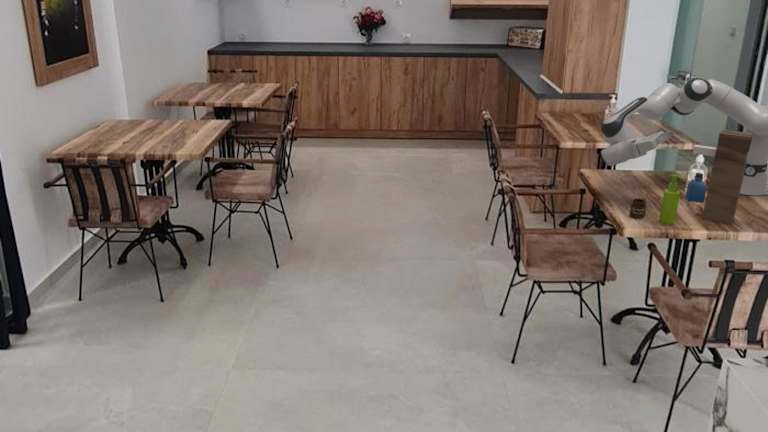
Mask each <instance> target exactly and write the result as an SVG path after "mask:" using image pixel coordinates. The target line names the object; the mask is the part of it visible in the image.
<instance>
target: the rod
mask: <svg viewBox="0 0 768 432" xmlns="http://www.w3.org/2000/svg"><path fill="white" fill-rule="evenodd" d="M716 149H717V147H713V146H706V145H699V144H695V145H694V146H693V150H692V151H693V152H692V154H694V155H701V156H705V157H706V156H707V157H713V158H715V154H716ZM747 157H748V154H747ZM746 160H747V158H746Z"/></svg>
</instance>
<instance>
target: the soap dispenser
mask: <svg viewBox="0 0 768 432" xmlns="http://www.w3.org/2000/svg"><path fill="white" fill-rule="evenodd" d="M670 177H672V179H671V181H668V182H669V183H668V188H667V189H664V190H663V196H662V202H661V208H660V211H659V212H660V213H659V219H658V222H660V223H661V222H662V224H664V223H665V225H673V224H675V222H676V221H675V220H676V218H677V211H678V206H679V201H680V195H681V192H680V191H679V190H678V188H679V183H678V182H677V180H678V179H682V180H685V179H686V178H687V177H686V176H684V175H681V174H674V173H672V174H671V175H670Z"/></svg>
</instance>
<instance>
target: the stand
mask: <svg viewBox="0 0 768 432" xmlns="http://www.w3.org/2000/svg"><path fill="white" fill-rule="evenodd" d="M718 135H719V136H718V140H717V144H716V148H717V149H716V154H715V157H713V163H712V169H711V174H710V177H709V183H708V189H707V191H706V193H707V194H706V196H705V197H706V198H705V202H704V207H703V212H702V217H701V219H702V220H705V221H710V222H715V223H720V224H725V225H731V226H732V224H733V222H734V220H735V217H736V213H737V208H738V203H739V199H740V195H741V194H740V190H741V186H742V181H743V177H744V172H745V168H746V164H747V160H746V158H747V159H748V157H747V154H749V149H750V145H751V140H752V136H753V133H745V131H743V132H742V131H736V130H728V129H722V130H721V131H720V132H719V134H718Z"/></svg>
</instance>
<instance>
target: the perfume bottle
mask: <svg viewBox="0 0 768 432" xmlns="http://www.w3.org/2000/svg"><path fill="white" fill-rule="evenodd" d="M705 185H706V184H705V183H704V173H703V172H702V173H701V172H696V173H695V175H694V177H693V179H691V180H690V181H689V182H688V183H687V187H686V188H687V189H686V192H685V198H686V199H687V201H688V202H693V203H705V202H704V201H705V199H706V198H705V197H706V193H707V188H706V186H705Z"/></svg>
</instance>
